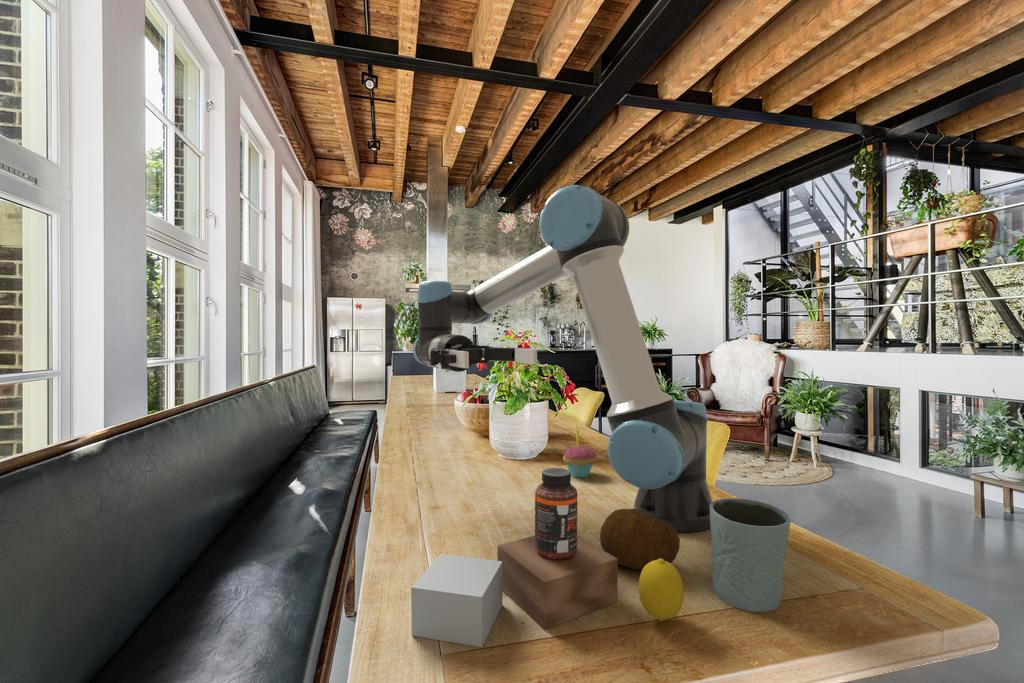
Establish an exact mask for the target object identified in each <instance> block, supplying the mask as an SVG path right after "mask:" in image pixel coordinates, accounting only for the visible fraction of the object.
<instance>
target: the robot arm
mask: <svg viewBox="0 0 1024 683" xmlns="http://www.w3.org/2000/svg"><path fill="white" fill-rule="evenodd" d="M629 221H630V220H629V218H628V216H627V213H626V211H625V210H624V209H623V208H622V206H620V205H619V204H618V203H617V202H615V201H613V200H611V199H608V198H607V197H605V196H603V195H602V194H600V193H598V192H597V191H596V190H595V189H593V188H592V187H587V186H583V185H579V184H571V185H565V186H564V187H560V188H559V189H557V190H556V191H554V193H552V194H551V195H550V196H549V198H548V199H547V200H546V202H544V206H543V209H542V210H541V212H540V216H539V221H538V222H539V224H538V226H539V232H540V236H541V237H542V239H543V241H544V242H545V243H546V244H547V246H545V247H543V248H542V249H540V250H539V251H537V252H535V253H533V254H532V255H530V256H528V257H526V258H524V259H523V260H521V261H519V262H517V263H516V264H514V265H512V266H511V267H509V268H507V269H505V270H502V271H501V272H499V273H498V274H496V275H494V276H493V277H491V278H489V279H487V280H486V281H484V282H482V283H480V284H479V285H478V286H476V287H473V288H472V289H470V290H468V291H466V292H463V291H461V292H460V291H453V289H452V283H451V282H450V281H444V280H441V281H440V280H426V281H425V280H424V281H422V282H420V283H419V284H418V291H417V294H418V295H417V306H418V308H417V313H418V316H417V318H418V320H417V321H418V323H417V324H418V332H417V338H416V339H415V341H414V343H413V344H412V345H413V346H412V354H413V357H414V359H415V360H416V361H417V362H418V363H420V364H421V365H424V366H425V367H428V368H435V369H441V370H444V372H445V373H450V372H456V373H460V372H464V371H467V370H469V368H471V367H472V365H475V364H487V363H490V362H491V361H492V362H514V363H518V364H526V365H538V349H536V348H528V347H523V345H522V344H517V347H493V346H490V345H478V344H475V343H473V341H472V340H471V339H470V338H469V337H467V336H466V335H461V334H452V332H453V324H471V325H478V324H482V323H483V324H484V323H487V322H488V321H489V320H490V319H491V318H492V316H493V314H494V313H496V312H497V311H499V310H501V309H504V308H506V307H508V306H509V305H511V304H513V303H515V302H517V301H518V300H519V301H520V300H521V299H523V298H525V297H527V296H528V295H530V294H533V293H535V292H537V291H539V290H540V289H543V288H544V287H545V286H546V287H547V286H548V285H551V284H552V283H554V282H556V281H558V280H559V279H561V278H563V277H565V276H568V275H569V276H571V277H572V278H573V281H574V284H575V288H576V291H577V294H578V298H579V300H580V304H581V307H582V310H583V313H584V316H585V319H586V320H585V321H586V323H587V326H588V328H589V329H588V330H589V332H590V336H591V339H592V343H593V345H594V346H593V347H594V349H595V352H596V355H597V358H598V362H599V366H600V369H601V373H602V374H603V379H604V381H605V384H606V388H607V391H608V394H609V397H610V401H611V406H610V408H609V410H608V411H607V413H606V418H607V421H608V424H609V427H610V430H611V434H610V438H609V440H608V444H607V455H608V459H609V463H610V465H611V466H612V468H613V469H614V472H615V473H616V474H617V475H618V477H620V478H621V479H622V480H623V481H625V482H627V483H628V484H630V485H632V486H633V487H636V488H638V490H637V493H636V497H635V499H634V503H633V505H634V508H633V509H638V510H642V511H644V512H646V513H648V514H650V515H651V516H653V517H654V518H656V519H659V520H661V521H664V522H666V523H669V524H671V525H672V527H673V528H674V529H675V530H676V531H677V533H696V532H702V531H706V530H707V531H708V530H709V529H711V527H710V504H711V503H712V502H714V500H713V498H712V495H711V493H710V490H709V489H710V488H709V486H708V483H707V439H708V438H707V432H708V431H707V430H708V429H707V428H708V427H707V425H708V421H709V420H708V414H707V408H706V406H705V404H703V403H702V402H698V401H697V402H696V401H689V400H688V401H687V400H674V398H673V396H671V395H670V394H668V393H667V392H664V391H663V390H662V389H661V387H660V384H659V380H658V377H657V376H656V373H655V369H654V366H653V363H652V360H651V359H652V358H651V357H650V352H649V351H648V347H647V344H646V341H645V339H644V335H643V332H642V329H641V326H640V322H639V320H638V317H637V314H636V311H635V307H634V304H633V302H632V298H631V295H630V291H629V290H628V286H627V284H626V283H627V282H626V279H625V277H624V274H623V270H622V268H621V265H620V259H621V257H622V255H623V254H624V252H625V250H624V249H625V248H624V246H625V244H626V242H627V241H628V237H629V235H630V222H629Z"/></svg>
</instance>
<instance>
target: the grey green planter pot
mask: <svg viewBox="0 0 1024 683" xmlns="http://www.w3.org/2000/svg"><path fill="white" fill-rule="evenodd" d="M710 527H711V528H710V532H711V556H712V560H711V561H712V567H711V568H712V571H711V573H712V579H711V580H712V590H713V593H714V594H715V596H716V597H717V598H718V599H719V600H720V601H722V602H724V603H725V604H727V605H729V606H731V607H734V608H735V609H740V610H742V611H747V612H751V613H752V612H753V613H768V612H773V611H775V610H777V609H778V608H779V607H780V605H781V602H782V601H781V600H782V594H783V584H784V583H783V582H784V581H783V575H784V569H785V556H786V554H787V551H788V550H787V549H788V541H789V534H790V529H791V528H790V527H791V518H790V515H789V514H787V513H786V512H785V511H784V510H782V509H780V508H779V507H777V506H774V505H773V504H769V503H766V502H763V501H759V500H754V499H748V498H738V497H737V498H735V497H734V498H733V497H732V498H731V497H729V498H720V499H716V500H713V502H712V503H711V504H710Z"/></svg>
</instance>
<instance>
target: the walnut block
mask: <svg viewBox="0 0 1024 683" xmlns="http://www.w3.org/2000/svg"><path fill="white" fill-rule="evenodd" d="M496 548H497V561H502V583H503V593H505V595H506V596H508V597H509V598H510V599H511V600H512V601H513V602H514V603H515V604H516V605H517V606H518V607H519V608H520V609H521V610H523V612H525V613H526V614H527V616H529V617H530V618H531V619H532V620H533V621H534V622H535V623H536V624H538V625H539V627H541V629H543V630H544V631H546V630H548V629H551V628H553V627H556V626H559V625H561V624H564V623H566V622H569V621H572V620H574V619H577V618H580V617H582V616H586V615H588V614H590V613H593V612H595V611H597V610H601V609H603V608H605V607H608V606H610V605H613V604H616V603H618V565H619V563H618V559H617V558H616V557H614V556H612V555H610V554H609V553H607V552H605V551H604V550H603V549H602V548H600V547H598V546H597V545H595V544H593V543H592V542H590V541H588V540H587V539H584V538H583V537H582V536H580V535H578V534H577V551H576V553H575V554H574V555H573V556H571V557H569V558H566V559H551V558H546V557H544V556H541V555H540V554H539V553H537V551H536V549H535V535H532V536H528V537H525V538H520V539H516V540H513V541H509V542H505V543H500V544H497V547H496Z"/></svg>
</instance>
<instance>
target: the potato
mask: <svg viewBox="0 0 1024 683" xmlns="http://www.w3.org/2000/svg"><path fill="white" fill-rule="evenodd" d="M600 527H601V528H600V533H599V541H600V542H599V543H600V546H601V549H602V550H604V551H605V552H607V553H609V554H610V555H612V556H614V557H616V558H617V559H618V565H620V566H623V567H626V568H628V569H633V570H637V571H642V569H643V568H644V567H645V565H646V564H648V563H649V562H651V561H654V560H658V559H660V558H661V559H663V560H664V561H666V562H669V563H670V564H672V563H673V561H675V559H676V558H677V556H678V553H679V551H680V548H681V547H680V545H681V542H680V536H679V533H678V532H677V531H676V530H675V529H674V528H673V527H672V525H671V524H669V523H666V522H664V521H661V520H659V519H656V518H654V517H653V516H651V515H650V514H648V513H646V512H644V511H642V510H638V509H634V508H620V509H615V510H614V511H613V512H611V513H610V514H609V515H608V516H607V517H606V518H605V520H604V521H603V524H602V526H600Z"/></svg>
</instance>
